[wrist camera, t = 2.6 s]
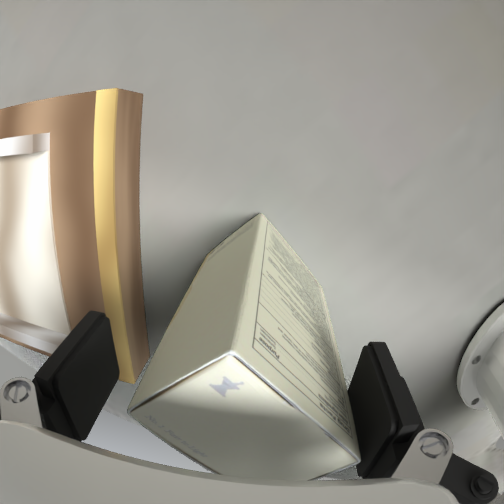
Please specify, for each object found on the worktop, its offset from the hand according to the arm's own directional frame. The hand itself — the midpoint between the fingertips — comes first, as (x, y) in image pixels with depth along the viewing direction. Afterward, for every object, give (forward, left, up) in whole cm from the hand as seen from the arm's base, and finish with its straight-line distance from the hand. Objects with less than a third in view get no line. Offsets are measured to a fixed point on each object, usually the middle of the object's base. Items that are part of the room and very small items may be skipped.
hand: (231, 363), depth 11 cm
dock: (+16, -1, -9) cm, 18 cm away
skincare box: (-1, 0, -9) cm, 9 cm away
